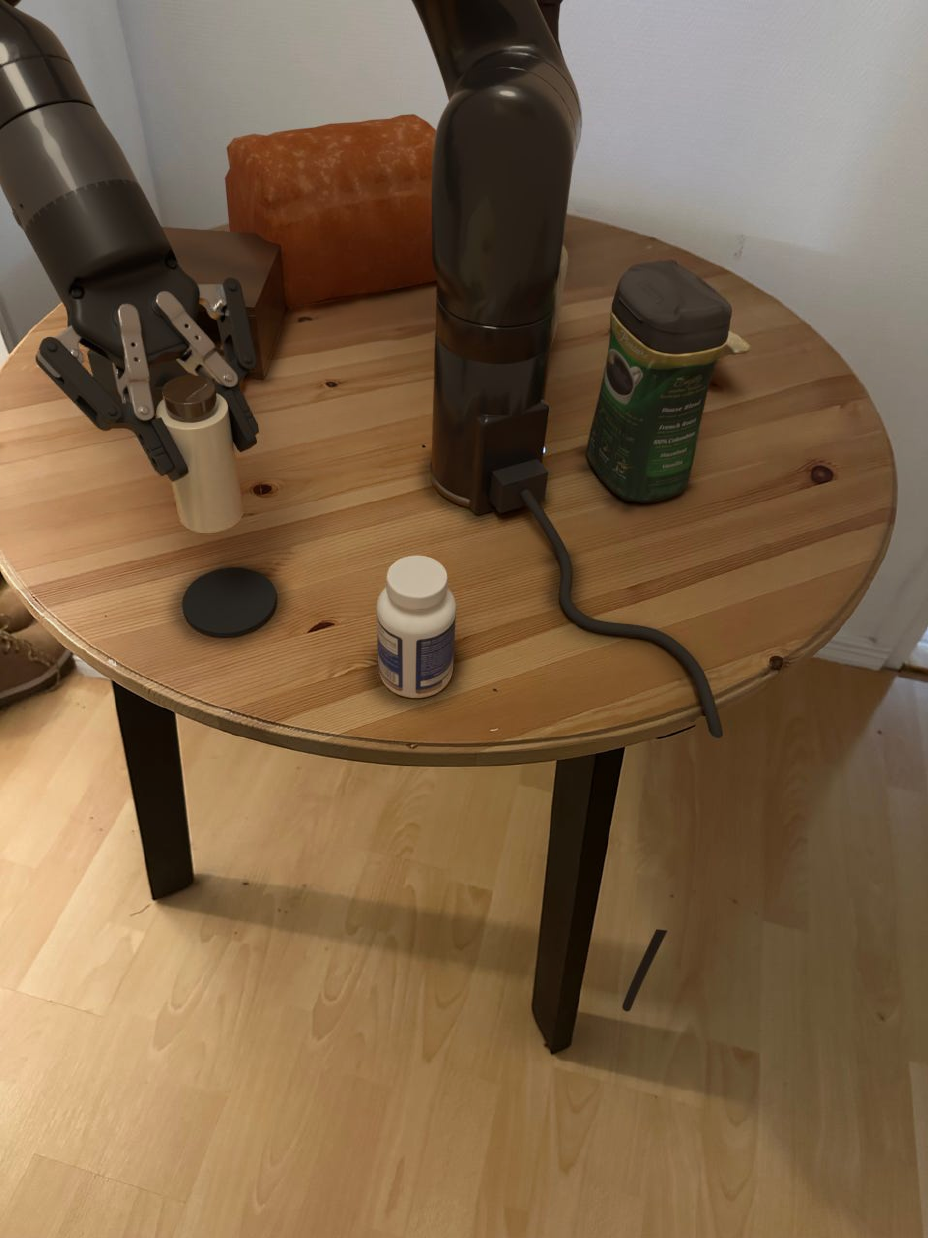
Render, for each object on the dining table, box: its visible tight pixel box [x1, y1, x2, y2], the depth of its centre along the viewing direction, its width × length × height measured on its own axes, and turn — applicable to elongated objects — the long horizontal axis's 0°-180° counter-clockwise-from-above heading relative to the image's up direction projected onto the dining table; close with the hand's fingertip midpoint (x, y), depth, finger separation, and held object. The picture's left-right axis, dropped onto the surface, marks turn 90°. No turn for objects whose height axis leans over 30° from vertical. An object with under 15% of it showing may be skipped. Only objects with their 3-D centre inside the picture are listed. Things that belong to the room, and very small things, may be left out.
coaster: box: [181, 566, 278, 639], centre depth 72 cm, size 7×7×1 cm
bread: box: [224, 113, 437, 309], centre depth 105 cm, size 17×24×15 cm
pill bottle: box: [376, 555, 457, 699], centre depth 65 cm, size 5×5×10 cm
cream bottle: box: [155, 375, 244, 534], centre depth 62 cm, size 4×4×10 cm
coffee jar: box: [586, 259, 733, 503], centre depth 80 cm, size 10×8×19 cm
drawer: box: [86, 311, 245, 415], centre depth 89 cm, size 15×13×6 cm
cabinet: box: [161, 226, 290, 381], centre depth 96 cm, size 15×14×8 cm
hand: (215, 461), depth 61 cm, fingers closed on cream bottle, 4 cm apart
